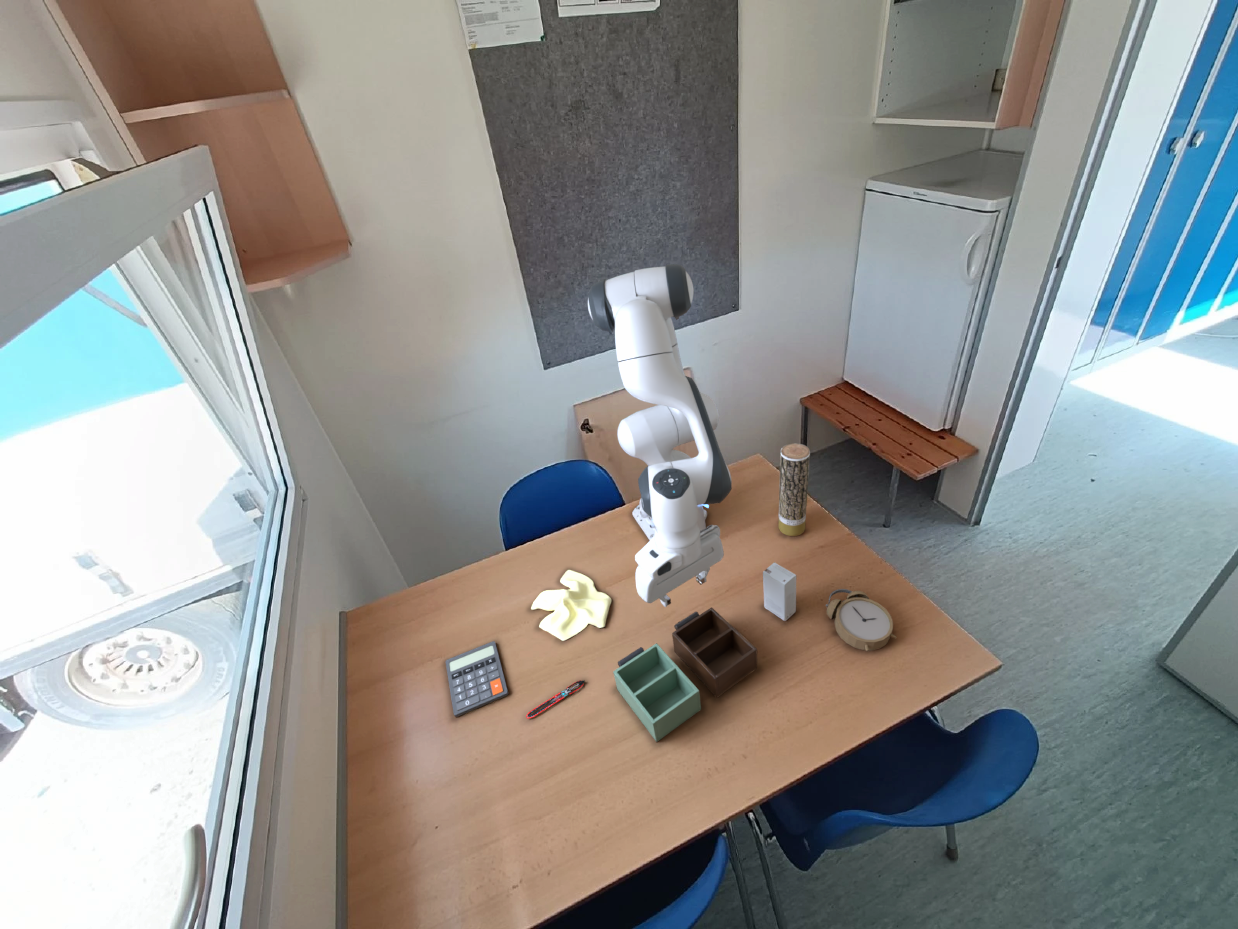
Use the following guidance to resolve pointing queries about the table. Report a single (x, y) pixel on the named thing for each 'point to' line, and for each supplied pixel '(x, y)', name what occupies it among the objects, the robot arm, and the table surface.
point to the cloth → (573, 606)
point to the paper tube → (793, 488)
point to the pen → (555, 699)
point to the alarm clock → (860, 620)
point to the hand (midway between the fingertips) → (683, 592)
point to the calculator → (475, 678)
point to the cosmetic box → (779, 591)
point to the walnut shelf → (714, 650)
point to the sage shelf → (656, 690)
